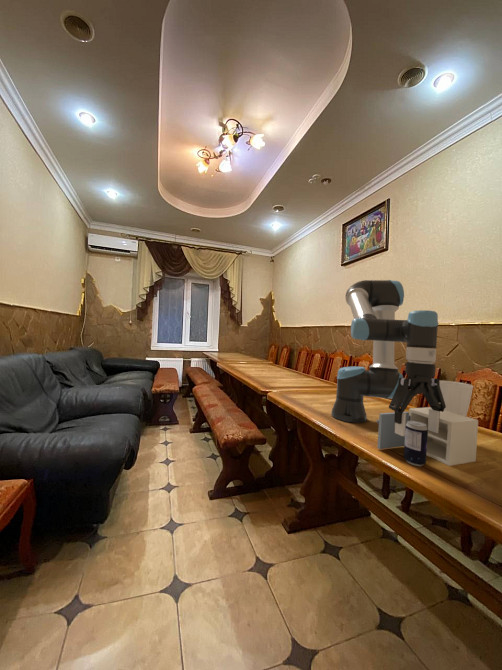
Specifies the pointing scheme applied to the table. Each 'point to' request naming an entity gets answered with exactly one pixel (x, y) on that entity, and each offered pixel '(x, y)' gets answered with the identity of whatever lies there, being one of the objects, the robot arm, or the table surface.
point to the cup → (456, 396)
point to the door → (389, 431)
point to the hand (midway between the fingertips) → (416, 433)
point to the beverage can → (415, 443)
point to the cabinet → (449, 436)
